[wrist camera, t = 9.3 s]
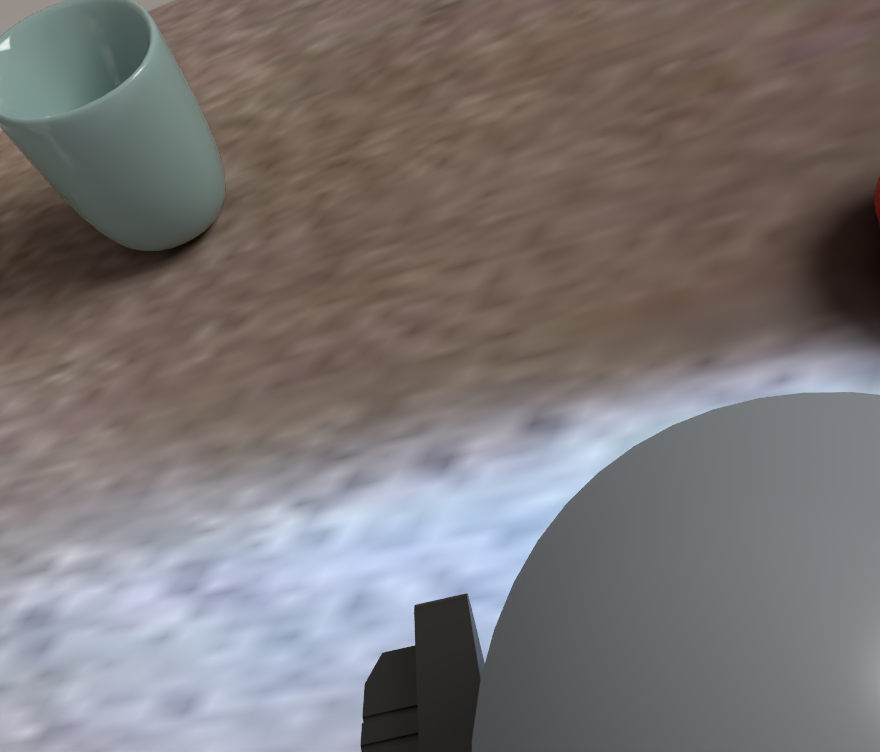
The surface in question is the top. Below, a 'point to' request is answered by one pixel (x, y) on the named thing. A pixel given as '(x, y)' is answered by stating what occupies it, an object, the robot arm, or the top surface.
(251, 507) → the top surface
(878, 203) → the pomegranate
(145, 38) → the cup
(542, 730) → the capsule
